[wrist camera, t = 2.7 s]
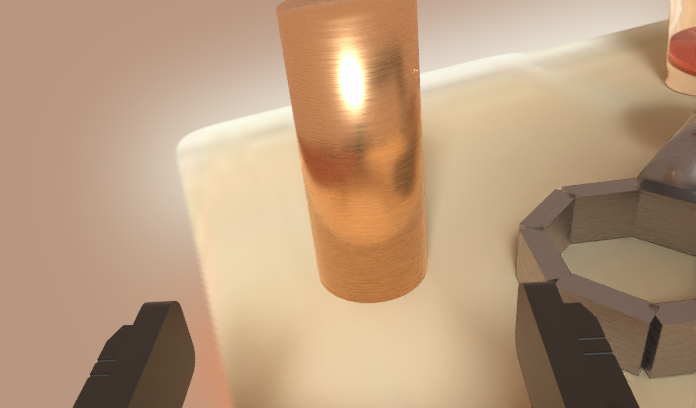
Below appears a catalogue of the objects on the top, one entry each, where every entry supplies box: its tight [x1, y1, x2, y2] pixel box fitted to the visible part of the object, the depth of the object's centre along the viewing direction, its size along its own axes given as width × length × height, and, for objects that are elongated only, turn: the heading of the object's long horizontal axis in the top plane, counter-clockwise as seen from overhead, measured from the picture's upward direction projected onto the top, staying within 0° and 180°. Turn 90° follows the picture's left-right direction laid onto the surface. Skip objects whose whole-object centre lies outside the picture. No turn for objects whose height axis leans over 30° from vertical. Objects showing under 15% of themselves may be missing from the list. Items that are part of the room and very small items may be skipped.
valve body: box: [516, 27, 696, 378], centre depth 25 cm, size 18×9×7 cm, turn 138°
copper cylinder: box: [276, 0, 427, 303], centre depth 24 cm, size 5×5×12 cm
